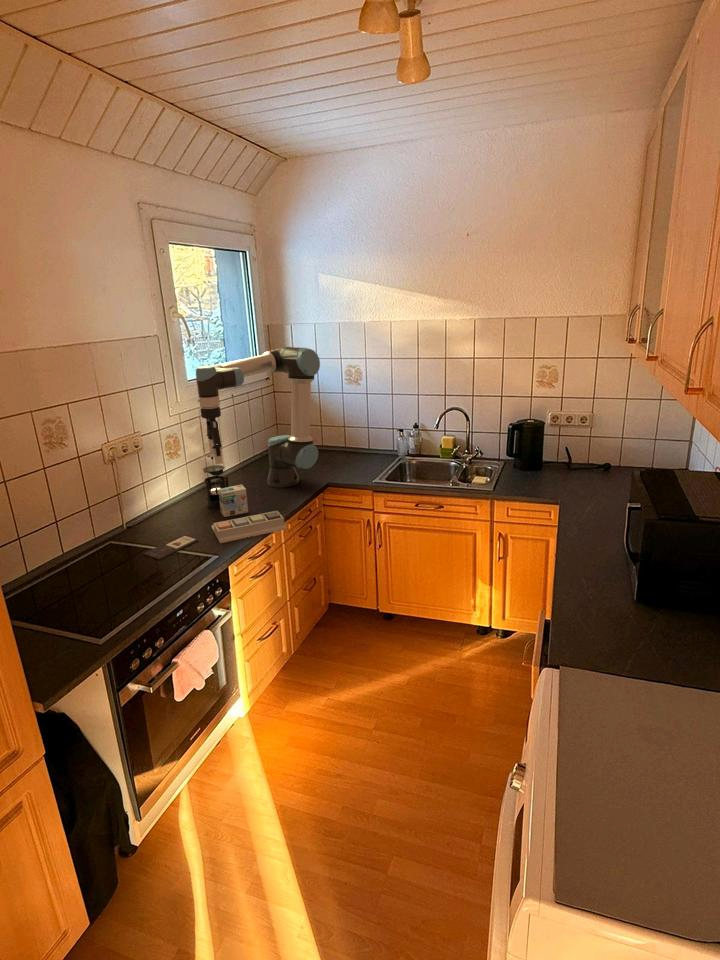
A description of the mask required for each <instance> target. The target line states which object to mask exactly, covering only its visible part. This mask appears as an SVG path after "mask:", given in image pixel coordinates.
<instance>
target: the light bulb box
mask: <svg viewBox="0 0 720 960" xmlns="http://www.w3.org/2000/svg"><path fill="white" fill-rule="evenodd" d="M220 488H221V487H220ZM218 491H219V500H220V508H219V509H220V513H221V514H222V516H223V517H224V518H225V517H226V518H227V517H230V516H231V517H232V516H236V515H237V516H238V515H243V514H247V513H249V508H248V496H247V488H246V487H245V486H244V485H243V484H237V485H233V486H232V485H231V486H229V487H226V486H225V488H221V489H218Z"/></svg>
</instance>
